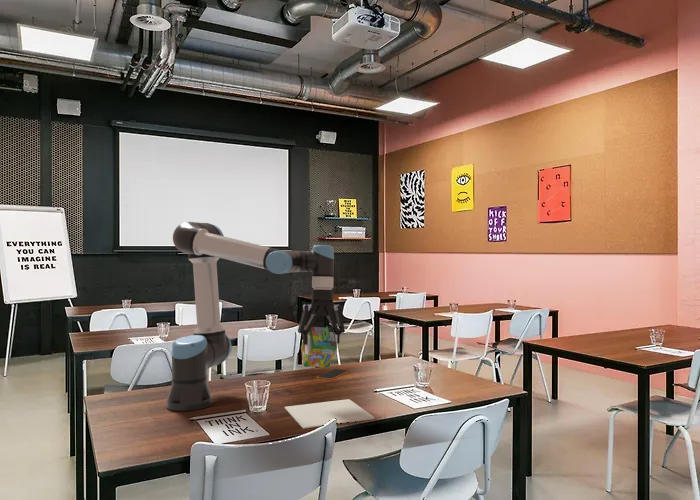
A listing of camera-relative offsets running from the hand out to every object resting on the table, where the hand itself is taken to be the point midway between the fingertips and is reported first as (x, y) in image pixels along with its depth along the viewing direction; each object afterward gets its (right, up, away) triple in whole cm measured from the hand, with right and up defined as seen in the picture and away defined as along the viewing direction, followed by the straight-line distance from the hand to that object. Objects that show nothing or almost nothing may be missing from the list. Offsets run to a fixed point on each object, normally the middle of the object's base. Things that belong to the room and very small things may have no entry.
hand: (321, 353), depth 176 cm
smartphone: (+3, -19, +46) cm, 49 cm away
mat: (+3, -18, -7) cm, 20 cm away
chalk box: (-3, -3, +6) cm, 7 cm away
